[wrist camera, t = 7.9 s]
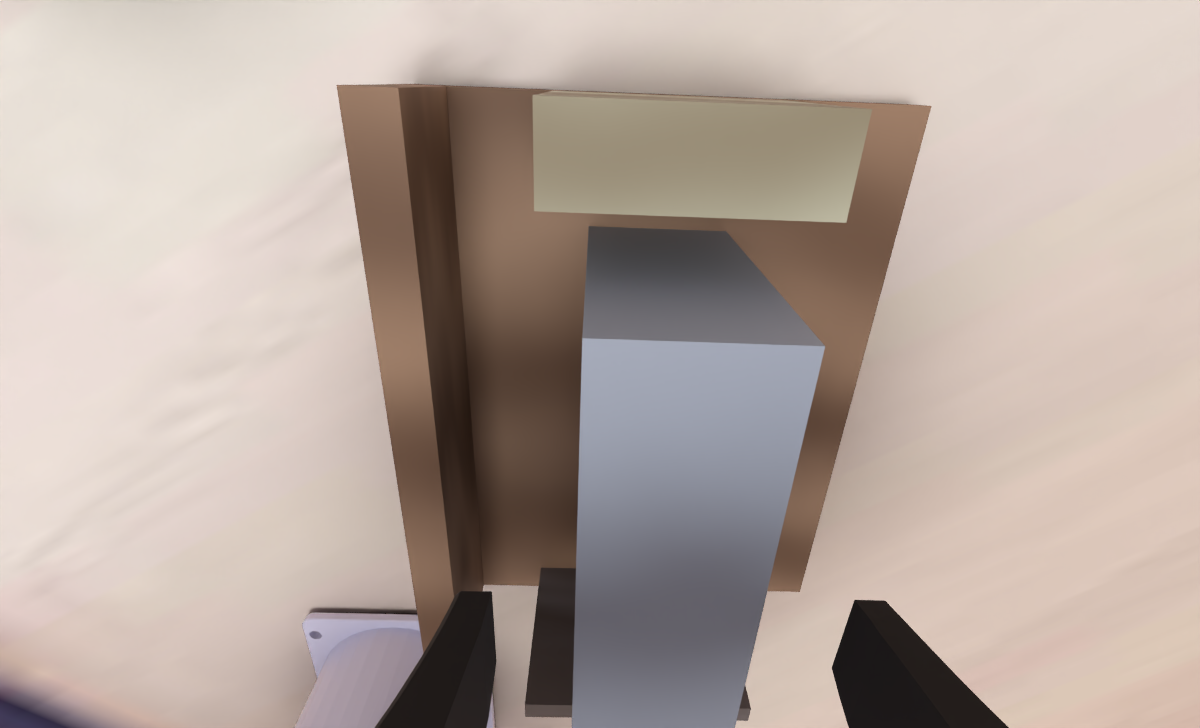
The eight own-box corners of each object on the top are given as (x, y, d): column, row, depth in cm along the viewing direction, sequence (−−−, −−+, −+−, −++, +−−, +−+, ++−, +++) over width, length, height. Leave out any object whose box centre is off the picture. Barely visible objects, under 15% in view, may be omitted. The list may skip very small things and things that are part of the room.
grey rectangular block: (726, 231, 16) (825, 346, 9) (683, 542, 22) (725, 767, 15) (588, 226, 16) (582, 338, 9) (579, 539, 22) (570, 764, 15)
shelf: (790, 568, 24) (854, 730, 18) (460, 561, 24) (414, 722, 18) (909, 104, 16) (1093, 117, 10) (413, 84, 16) (301, 85, 10)
